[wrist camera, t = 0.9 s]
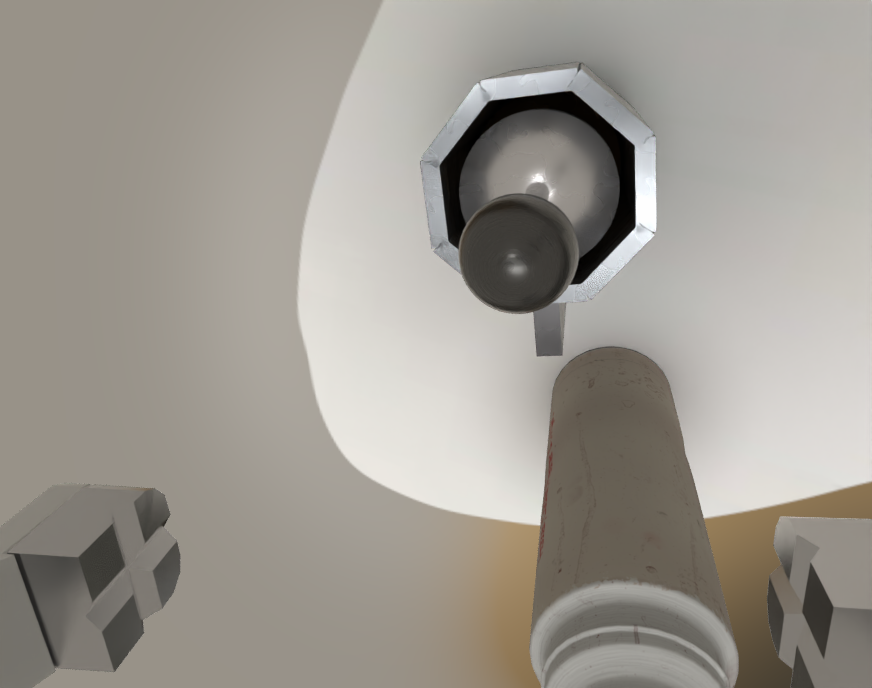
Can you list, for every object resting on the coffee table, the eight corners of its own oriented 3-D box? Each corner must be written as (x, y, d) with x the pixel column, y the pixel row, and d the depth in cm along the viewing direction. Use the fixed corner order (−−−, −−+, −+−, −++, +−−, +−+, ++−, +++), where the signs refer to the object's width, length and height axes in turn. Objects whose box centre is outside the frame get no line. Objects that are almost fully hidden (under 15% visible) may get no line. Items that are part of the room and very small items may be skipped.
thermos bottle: (552, 447, 49) (519, 864, 24) (551, 345, 46) (513, 702, 21) (667, 452, 48) (762, 906, 22) (675, 347, 44) (795, 736, 19)
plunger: (616, 98, 28) (637, 130, 17) (620, 259, 30) (641, 378, 19) (453, 117, 29) (376, 159, 18) (470, 269, 32) (411, 384, 21)
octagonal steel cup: (631, 54, 38) (655, 57, 26) (635, 269, 43) (656, 360, 30) (464, 76, 41) (410, 89, 28) (485, 279, 45) (447, 368, 33)
